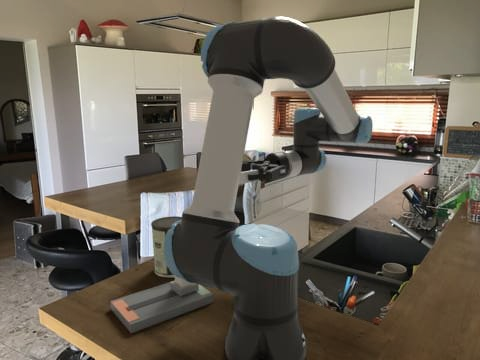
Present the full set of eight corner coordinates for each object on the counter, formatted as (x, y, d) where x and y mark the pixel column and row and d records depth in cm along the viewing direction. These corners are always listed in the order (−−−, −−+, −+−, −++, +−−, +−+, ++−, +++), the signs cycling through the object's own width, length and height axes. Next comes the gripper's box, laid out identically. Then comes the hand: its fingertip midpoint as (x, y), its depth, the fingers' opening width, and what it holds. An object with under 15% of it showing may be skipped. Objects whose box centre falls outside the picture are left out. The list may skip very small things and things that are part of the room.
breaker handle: (198, 289, 93) (197, 243, 90) (180, 296, 90) (177, 248, 87) (188, 282, 96) (186, 237, 94) (170, 288, 94) (167, 242, 91)
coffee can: (196, 263, 113) (194, 216, 110) (184, 279, 103) (182, 228, 100) (162, 261, 115) (160, 215, 112) (148, 276, 105) (144, 226, 102)
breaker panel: (213, 302, 91) (213, 294, 91) (131, 333, 80) (130, 324, 79) (187, 283, 101) (187, 276, 100) (110, 309, 89) (110, 300, 88)
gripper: (314, 185, 101) (250, 198, 89) (253, 172, 121) (194, 181, 108) (315, 156, 100) (250, 166, 87) (253, 147, 119) (193, 154, 107)
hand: (219, 174), depth 98 cm, fingers open, 13 cm apart
